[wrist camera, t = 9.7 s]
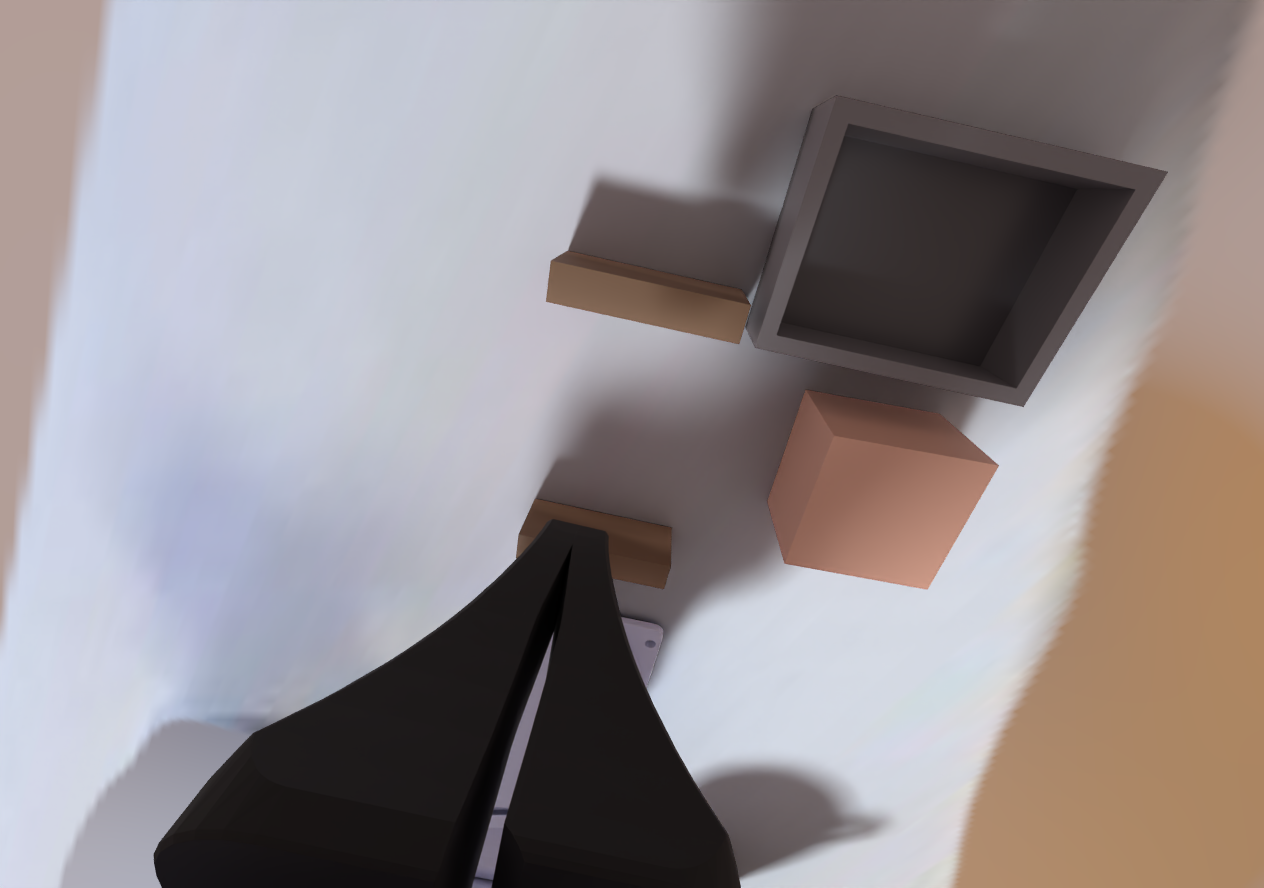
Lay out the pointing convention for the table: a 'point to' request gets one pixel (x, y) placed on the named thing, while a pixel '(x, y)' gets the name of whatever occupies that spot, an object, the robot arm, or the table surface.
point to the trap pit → (939, 249)
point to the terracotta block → (874, 489)
